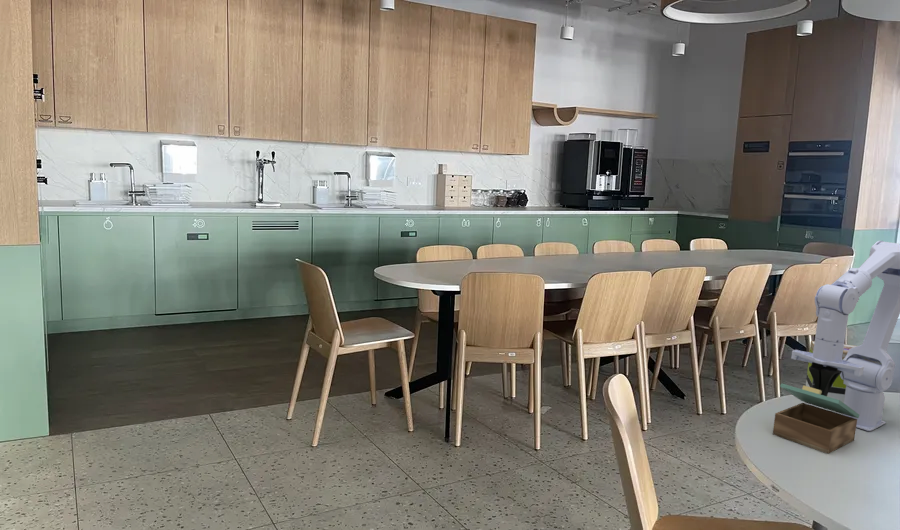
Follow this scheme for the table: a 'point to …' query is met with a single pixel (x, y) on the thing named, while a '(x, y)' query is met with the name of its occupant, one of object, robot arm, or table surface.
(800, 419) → the walnut box
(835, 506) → the table surface
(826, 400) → the lid
